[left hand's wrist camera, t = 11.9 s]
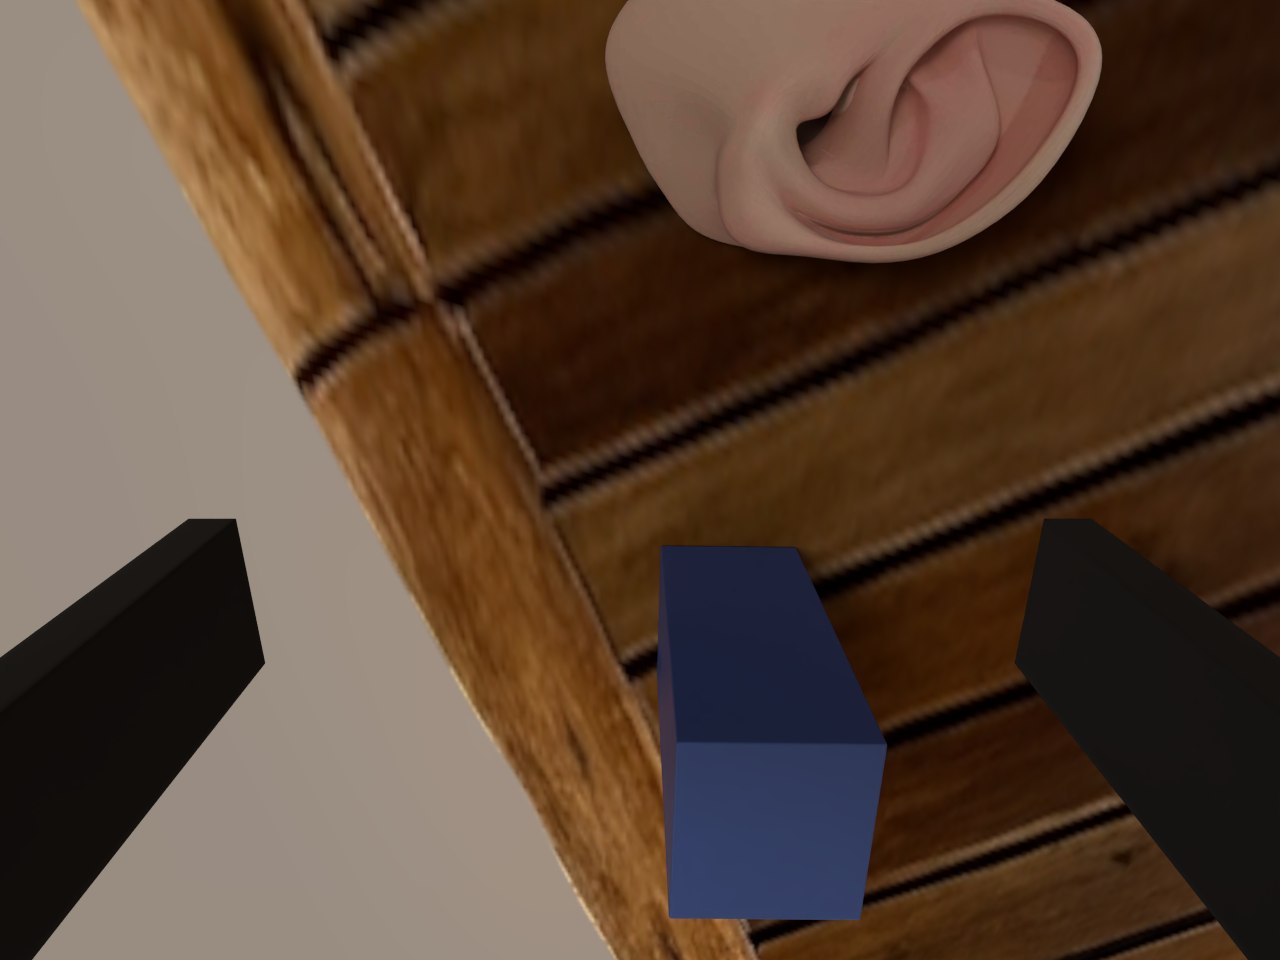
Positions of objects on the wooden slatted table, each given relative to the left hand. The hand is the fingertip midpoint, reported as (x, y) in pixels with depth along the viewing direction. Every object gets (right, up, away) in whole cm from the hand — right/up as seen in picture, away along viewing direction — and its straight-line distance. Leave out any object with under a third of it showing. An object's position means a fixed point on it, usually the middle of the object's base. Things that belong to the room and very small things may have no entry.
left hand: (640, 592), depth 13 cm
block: (+4, -4, +19) cm, 20 cm away
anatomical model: (+6, +15, +13) cm, 20 cm away
